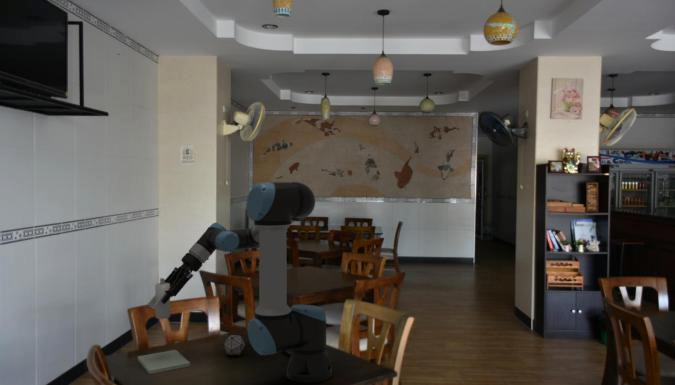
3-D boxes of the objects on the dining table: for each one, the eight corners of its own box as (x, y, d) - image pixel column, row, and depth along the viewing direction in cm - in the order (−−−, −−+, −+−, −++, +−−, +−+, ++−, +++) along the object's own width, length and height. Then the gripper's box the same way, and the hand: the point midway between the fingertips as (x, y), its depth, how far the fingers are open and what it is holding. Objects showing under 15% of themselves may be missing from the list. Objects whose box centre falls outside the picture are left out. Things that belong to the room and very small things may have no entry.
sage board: (190, 366, 185) (189, 362, 185) (149, 374, 178) (149, 370, 178) (175, 352, 200) (175, 349, 200) (137, 359, 193) (137, 356, 193)
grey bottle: (172, 317, 189) (171, 278, 189) (157, 319, 186) (157, 280, 186) (168, 314, 193) (167, 276, 193) (154, 316, 191) (153, 278, 190)
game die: (235, 367, 195) (229, 350, 188) (221, 354, 199) (214, 338, 193) (253, 350, 200) (248, 334, 193) (238, 339, 204) (233, 323, 198)
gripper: (212, 267, 192) (169, 319, 182) (193, 261, 206) (151, 309, 196) (198, 254, 189) (153, 306, 179) (179, 249, 203) (137, 297, 193)
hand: (152, 308), depth 188 cm, fingers closed on grey bottle, 5 cm apart
